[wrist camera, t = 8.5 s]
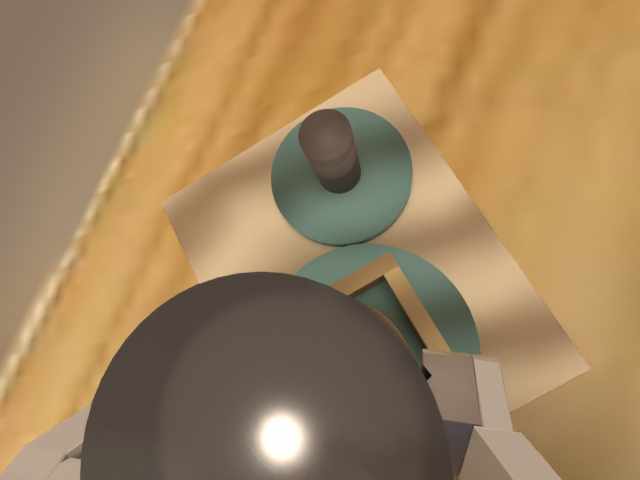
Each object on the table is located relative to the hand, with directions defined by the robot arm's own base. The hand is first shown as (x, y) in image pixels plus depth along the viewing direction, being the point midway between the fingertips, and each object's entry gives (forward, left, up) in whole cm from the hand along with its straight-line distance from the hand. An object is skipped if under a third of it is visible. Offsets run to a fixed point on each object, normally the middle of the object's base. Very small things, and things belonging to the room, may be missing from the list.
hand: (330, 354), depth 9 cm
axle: (-1, 0, -6) cm, 6 cm away
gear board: (+3, -1, -14) cm, 15 cm away
